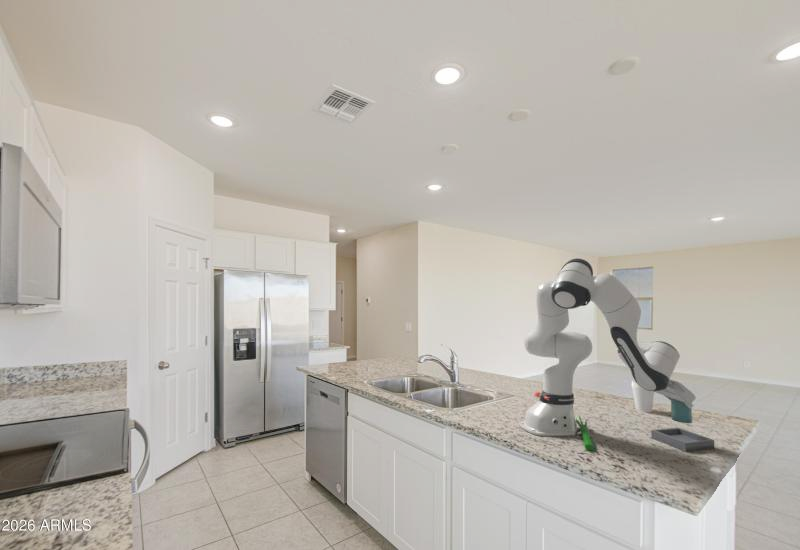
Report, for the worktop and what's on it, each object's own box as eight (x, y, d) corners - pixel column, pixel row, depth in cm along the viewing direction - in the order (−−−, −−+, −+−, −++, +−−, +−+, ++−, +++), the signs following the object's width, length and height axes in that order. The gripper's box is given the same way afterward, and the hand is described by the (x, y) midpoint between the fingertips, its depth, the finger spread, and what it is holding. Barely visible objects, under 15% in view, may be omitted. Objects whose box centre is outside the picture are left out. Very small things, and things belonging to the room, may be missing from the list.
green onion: (596, 454, 125) (585, 422, 153) (595, 444, 125) (585, 414, 153) (580, 452, 127) (572, 421, 155) (580, 442, 127) (572, 413, 155)
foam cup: (659, 414, 167) (658, 385, 168) (637, 412, 169) (636, 384, 170) (650, 408, 177) (649, 381, 178) (629, 406, 179) (628, 380, 179)
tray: (685, 451, 126) (685, 443, 126) (651, 437, 138) (651, 429, 138) (714, 448, 129) (714, 440, 129) (678, 435, 141) (678, 427, 142)
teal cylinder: (683, 423, 130) (682, 392, 131) (667, 418, 136) (666, 388, 137) (696, 422, 131) (695, 391, 132) (680, 417, 137) (679, 387, 138)
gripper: (682, 376, 125) (712, 405, 124) (643, 365, 145) (668, 391, 144) (669, 389, 124) (699, 419, 124) (632, 376, 145) (657, 402, 144)
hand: (682, 403), depth 134 cm, fingers closed on teal cylinder, 6 cm apart
